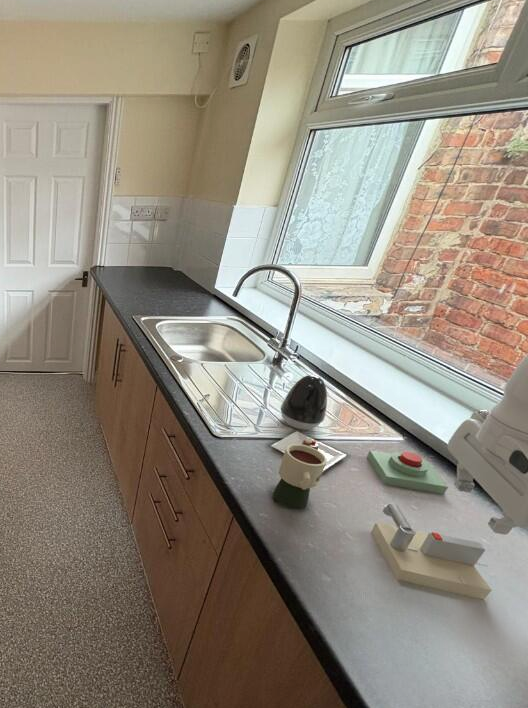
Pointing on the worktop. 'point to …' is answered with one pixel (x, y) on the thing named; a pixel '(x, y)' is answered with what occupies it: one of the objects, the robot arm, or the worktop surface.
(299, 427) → the black egg shaped dome
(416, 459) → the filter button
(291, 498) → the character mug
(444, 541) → the tap handle
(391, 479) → the green button base
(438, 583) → the tap block
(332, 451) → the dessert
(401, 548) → the spout
